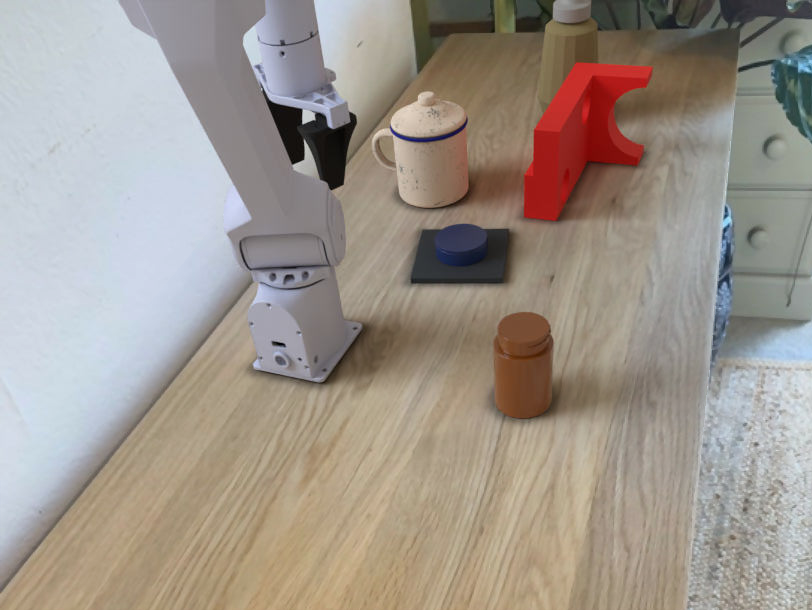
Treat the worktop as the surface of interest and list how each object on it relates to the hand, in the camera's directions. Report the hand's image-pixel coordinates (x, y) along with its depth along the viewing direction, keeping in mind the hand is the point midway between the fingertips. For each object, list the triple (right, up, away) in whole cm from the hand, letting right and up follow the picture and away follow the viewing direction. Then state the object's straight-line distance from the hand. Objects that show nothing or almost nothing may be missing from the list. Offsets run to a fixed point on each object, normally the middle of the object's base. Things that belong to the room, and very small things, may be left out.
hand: (314, 174), depth 89 cm
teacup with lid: (+12, +5, +17) cm, 21 cm away
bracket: (+31, +5, +14) cm, 35 cm away
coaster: (+16, -7, +6) cm, 18 cm away
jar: (+20, -25, -11) cm, 34 cm away
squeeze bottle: (+31, +18, +26) cm, 44 cm away
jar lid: (+16, -5, +4) cm, 17 cm away
